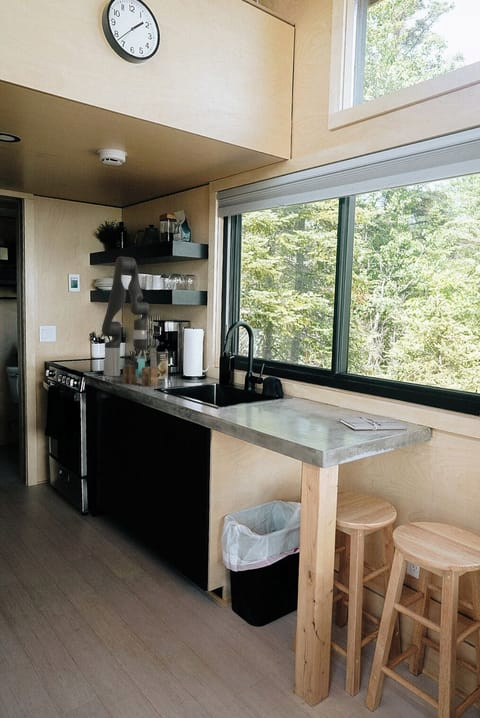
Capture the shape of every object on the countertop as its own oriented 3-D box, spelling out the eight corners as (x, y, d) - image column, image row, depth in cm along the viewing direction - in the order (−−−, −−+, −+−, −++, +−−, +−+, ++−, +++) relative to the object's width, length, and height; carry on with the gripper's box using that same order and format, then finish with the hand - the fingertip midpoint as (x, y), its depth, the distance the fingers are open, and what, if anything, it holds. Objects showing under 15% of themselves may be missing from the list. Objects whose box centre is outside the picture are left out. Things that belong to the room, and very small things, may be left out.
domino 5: (148, 386, 287) (148, 368, 286) (154, 385, 291) (155, 367, 290) (151, 386, 286) (151, 368, 285) (157, 385, 290) (157, 367, 289)
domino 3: (135, 376, 292) (135, 358, 291) (142, 375, 296) (142, 358, 296) (138, 376, 291) (138, 358, 290) (144, 376, 295) (144, 358, 294)
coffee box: (157, 379, 316) (157, 352, 314) (150, 378, 320) (150, 352, 318) (168, 378, 323) (168, 352, 322) (160, 377, 327) (161, 351, 325)
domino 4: (141, 385, 290) (142, 367, 289) (148, 384, 294) (148, 366, 293) (144, 385, 289) (144, 367, 288) (150, 384, 293) (151, 367, 292)
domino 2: (129, 383, 296) (129, 366, 295) (135, 382, 300) (135, 365, 299) (131, 384, 294) (131, 366, 294) (138, 383, 299) (138, 365, 298)
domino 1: (123, 382, 298) (123, 365, 298) (129, 382, 303) (129, 364, 302) (125, 383, 297) (125, 365, 296) (131, 382, 301) (132, 365, 301)
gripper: (144, 337, 300) (144, 367, 301) (125, 338, 288) (125, 369, 290) (154, 338, 296) (154, 368, 297) (135, 338, 284) (135, 370, 285)
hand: (140, 368), depth 293 cm, fingers closed on domino 3, 5 cm apart
